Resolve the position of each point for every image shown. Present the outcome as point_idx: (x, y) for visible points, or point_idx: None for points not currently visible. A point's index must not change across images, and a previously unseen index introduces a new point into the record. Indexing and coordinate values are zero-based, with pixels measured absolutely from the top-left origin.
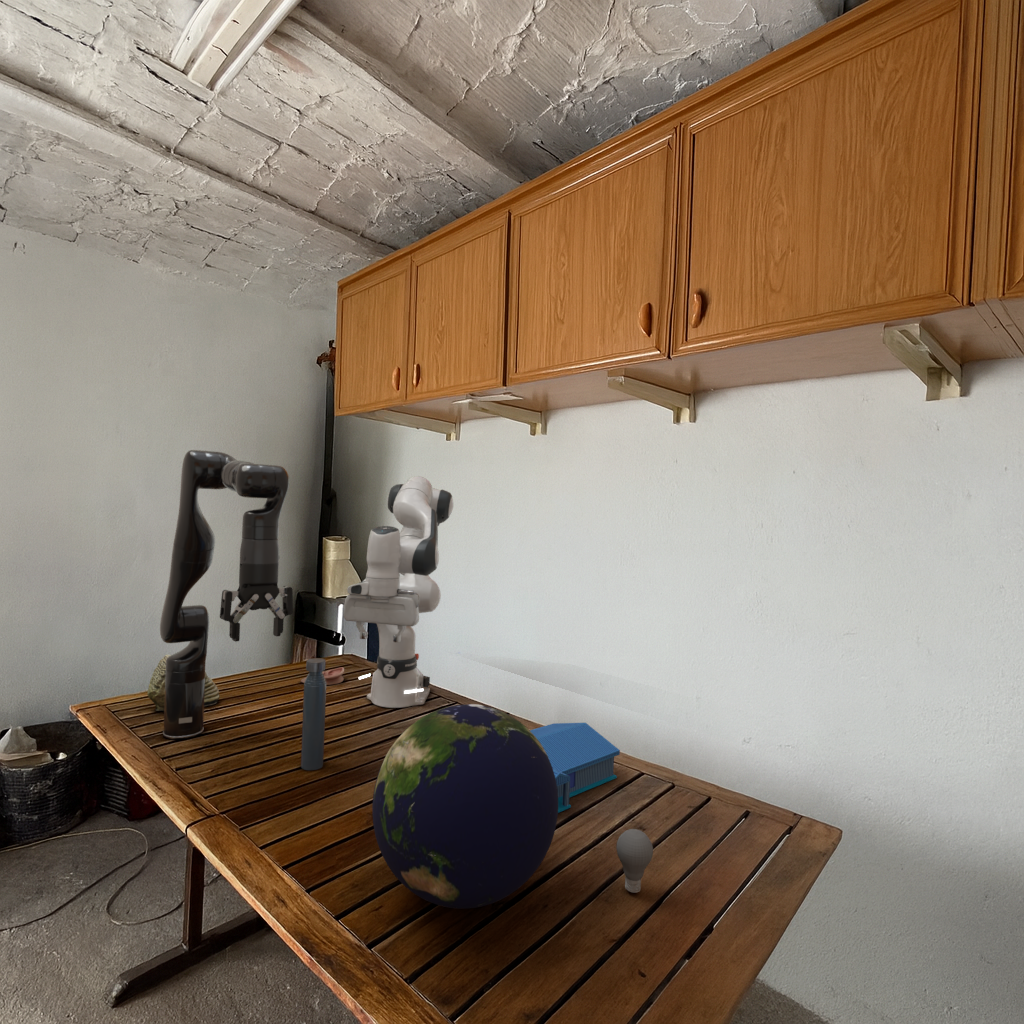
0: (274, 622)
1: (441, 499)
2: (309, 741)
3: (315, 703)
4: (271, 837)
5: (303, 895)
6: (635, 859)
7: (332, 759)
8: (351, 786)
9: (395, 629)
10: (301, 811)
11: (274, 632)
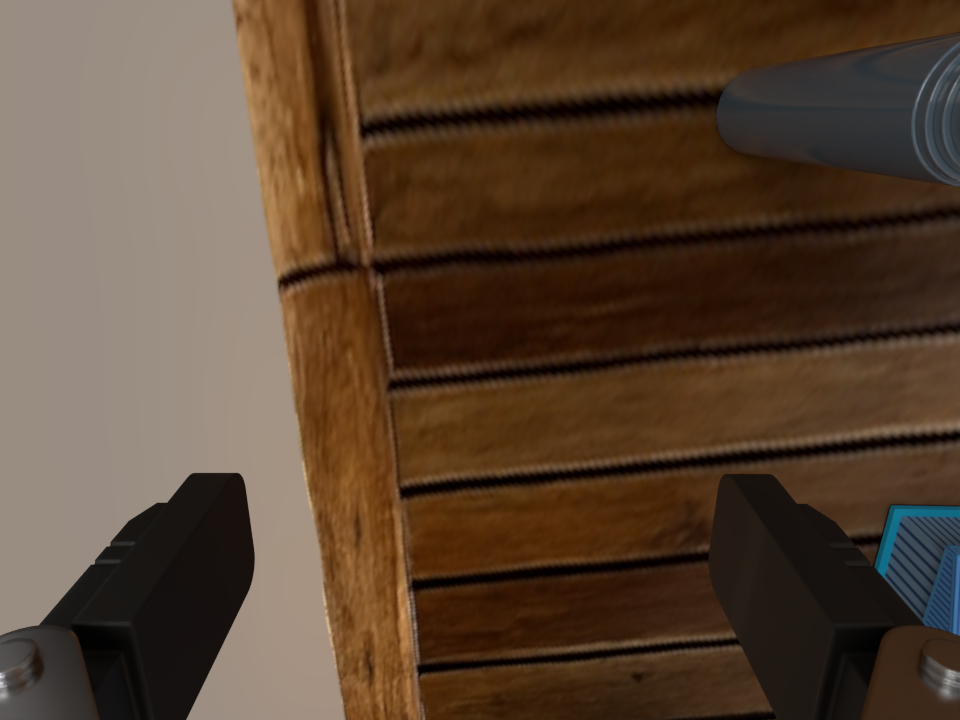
0: (791, 599)
1: None
2: (769, 147)
3: (878, 172)
4: (439, 466)
5: (407, 675)
6: None
7: None
8: (755, 343)
9: None
10: (558, 393)
11: (731, 518)
